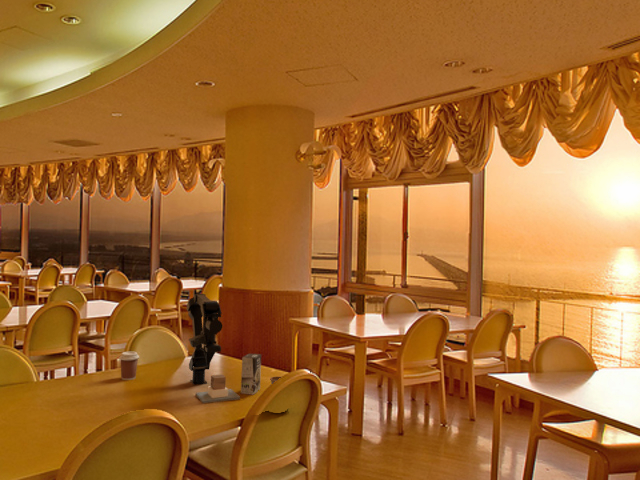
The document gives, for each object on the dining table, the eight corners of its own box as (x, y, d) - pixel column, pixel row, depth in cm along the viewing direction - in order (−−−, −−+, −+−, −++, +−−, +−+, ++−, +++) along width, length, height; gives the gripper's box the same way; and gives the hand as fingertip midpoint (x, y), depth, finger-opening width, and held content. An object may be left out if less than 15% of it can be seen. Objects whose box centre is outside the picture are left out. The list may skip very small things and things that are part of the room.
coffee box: (254, 395, 227) (255, 358, 227) (240, 393, 228) (241, 357, 228) (260, 389, 236) (262, 354, 236) (247, 388, 237) (248, 352, 237)
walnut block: (210, 386, 223) (211, 375, 223) (221, 385, 225) (222, 374, 226) (213, 389, 219) (214, 378, 219) (225, 388, 221) (225, 377, 221)
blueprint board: (195, 395, 224) (196, 385, 224) (231, 391, 231) (231, 382, 231) (202, 403, 213) (203, 393, 213) (239, 399, 220) (240, 389, 220)
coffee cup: (142, 377, 247) (143, 352, 247) (126, 381, 240) (127, 356, 240) (130, 374, 252) (131, 350, 252) (114, 378, 245) (115, 353, 245)
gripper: (186, 326, 235) (185, 360, 235) (196, 333, 218) (195, 370, 218) (210, 325, 240) (209, 359, 240) (222, 332, 223) (220, 368, 223)
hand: (207, 364), depth 230 cm, fingers closed
